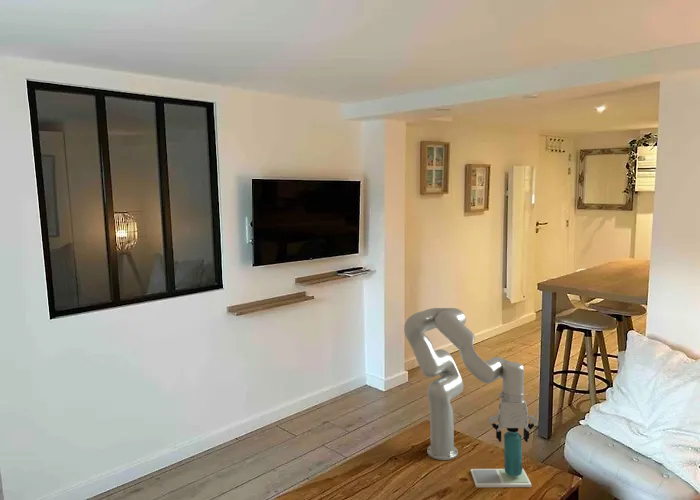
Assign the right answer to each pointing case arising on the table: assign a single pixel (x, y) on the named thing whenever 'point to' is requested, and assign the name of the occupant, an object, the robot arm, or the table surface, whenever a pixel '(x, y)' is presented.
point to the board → (499, 478)
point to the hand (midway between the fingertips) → (512, 440)
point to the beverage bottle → (513, 452)
